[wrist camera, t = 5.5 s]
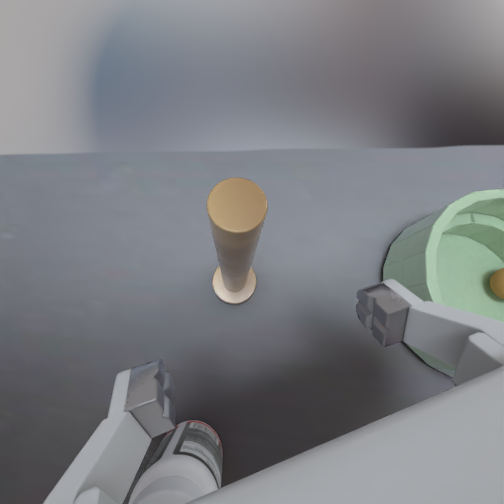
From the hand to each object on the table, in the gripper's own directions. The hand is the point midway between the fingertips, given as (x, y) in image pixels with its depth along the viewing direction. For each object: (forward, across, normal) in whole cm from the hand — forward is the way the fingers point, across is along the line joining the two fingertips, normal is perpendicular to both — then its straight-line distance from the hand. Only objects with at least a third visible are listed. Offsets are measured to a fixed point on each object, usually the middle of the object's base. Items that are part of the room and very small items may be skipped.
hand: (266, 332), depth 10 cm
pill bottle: (+4, +7, +14) cm, 16 cm away
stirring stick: (+11, 0, +6) cm, 13 cm away
